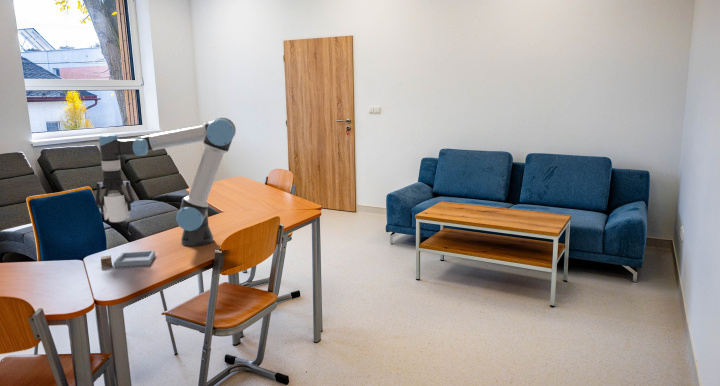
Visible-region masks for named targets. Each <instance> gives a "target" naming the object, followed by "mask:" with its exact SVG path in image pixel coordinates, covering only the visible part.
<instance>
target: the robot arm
mask: <svg viewBox="0 0 720 386" xmlns="http://www.w3.org/2000/svg"><path fill="white" fill-rule="evenodd" d="M236 131H237V130H236V126H235V124H234V122H233V121H232V120H231V119H229V118H227V117H219V118H218V117H217V118H215V119H213V120H210V121H207V122H204V123H203V124H202V125H197V126H191V127H185V128H180V129H174V130H169V131H162V132H158V133H152V134H147V135H139V136H136V137H133V138H125V139H124V138H122V139H119V137H118V135H116V134H105V135H101V136H99V138H98V140H99V141H98V143H99V151H100V152H99V154H100V161H101V170H102V178H103V179H102V180H103V181H101V182H97V183H95V185H96V195H95V196H96V197H95V205H96V206H100V212H101V214H102V213H103V218H104V221H107V220H109V218H108V214H107V211H106V207H105V203H104V196H105V197H107V196H108V194H110V192H111V191H117V192H118V193H120V194H121V195H124V199H125V202H126V205H125V208H126V219H129V218H130V217H131V215H130V212H131V211H132V204H133V203H134V202H135V197H134V194H133V191H132V188H131V181H130V180H127V181H126V180H123V174H122V170H121V168H122V166H121V165H122V164H121V157H129V156H130V157H134V156H135V157H137V156H138V157H142V156H147V155H148V152H151V151H157V150H162V149H163V150H164V149H168V148H174V147H179V146H184V145H185V146H186V145H190V144H195V143H201V142H202V143H203V145H204V150H203V153H202V155H201V158H200V161H199V164H198V167H197V169H196V173H195V176H194V177H193V181H192V184H191V187H190V189H189V193H188V195H186V196H184V197H183V198H182V199H181V204H180V207H179V210H178V211H177V212H176V215H175V217H176V218H175V221H176V223H177V225H178V226H179V228H180V229H182V230H183V231H182V234H181V239H180V240H181V245H183V246H186V247H198V246H200V247H201V246H204V245H208V243H209V244H211V243H213V242H214V236H213V233H212V231H211V229H210V226H209V216H208V215H209V214H208V213H209V212H208V209H209V202H208V198H209V196H210V193H211V190H212V188H213V184H214V182H215V179H216V176H217V174H218V170H219V167H220V165H221V162H222V159H223V156H224V154H225V153H226V154H227V152H229V150H230V147H231V145H232V141H233V139H234V137H235V135H236ZM123 185H124V186H125V188H126V191H127V192H126V193H127V194H126V193H125V191H124V188H123V187H122V186H123ZM103 186H104V187H105V191H104V194H103V196H102V188H103ZM101 198H102V199H101ZM210 242H211V243H210Z"/></svg>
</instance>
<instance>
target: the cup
mask: <svg viewBox="0 0 720 386" xmlns="http://www.w3.org/2000/svg"><path fill="white" fill-rule="evenodd" d="M103 196H104V195H103ZM104 203H105V204H104V205H105V207H106V211H107V214H108V221H109V222H111V223H120V222H124V221H125V220H126V219H127V217H126V208H125V205H126V204H127V203H126V202H125V199H124V195H121V194H120V192H115V193H109V194H108V196H107V197H105V196H104Z"/></svg>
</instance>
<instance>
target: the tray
mask: <svg viewBox="0 0 720 386" xmlns="http://www.w3.org/2000/svg"><path fill="white" fill-rule="evenodd" d="M155 257H156V251H155V249H154V250H143V251H129V252H128V251H127V252H121V253H120V254H119V256H118V257H116V259H115V261H114V262H113V268H114V269H122V268H123V269H124V268H125V269H126V268H133V267H134V268H135V267H136V268H137V267H148V266H150V265H151V264H152V262H153V260H154V259H155Z"/></svg>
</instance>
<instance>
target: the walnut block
mask: <svg viewBox="0 0 720 386" xmlns="http://www.w3.org/2000/svg"><path fill="white" fill-rule="evenodd" d="M112 263H113V261H112V255H105V256H104V255H103V256H100V266H101V269H107V268H112V267H113V264H112ZM106 267H107V268H106Z"/></svg>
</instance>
